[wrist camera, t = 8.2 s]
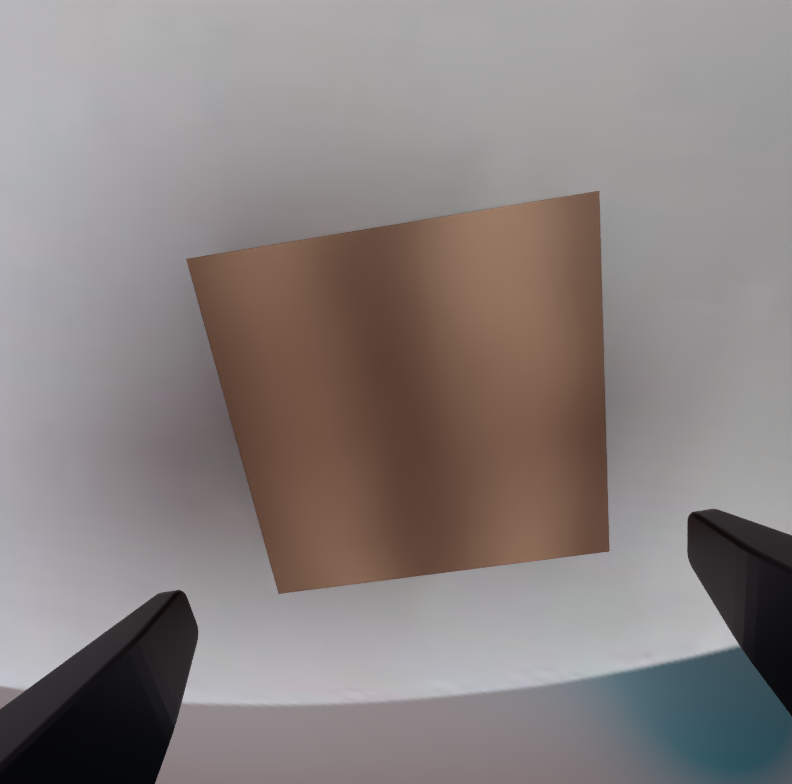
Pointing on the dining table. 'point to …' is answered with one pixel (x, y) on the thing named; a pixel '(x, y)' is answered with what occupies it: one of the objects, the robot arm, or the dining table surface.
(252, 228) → the dining table surface
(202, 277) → the walnut riser block
